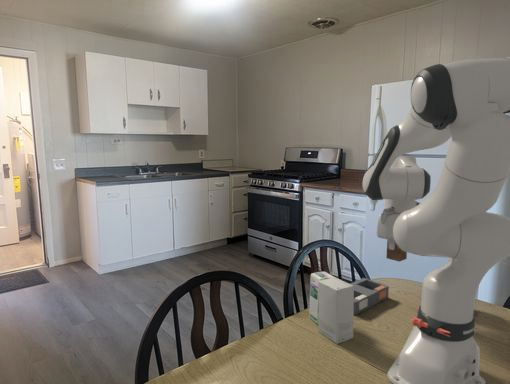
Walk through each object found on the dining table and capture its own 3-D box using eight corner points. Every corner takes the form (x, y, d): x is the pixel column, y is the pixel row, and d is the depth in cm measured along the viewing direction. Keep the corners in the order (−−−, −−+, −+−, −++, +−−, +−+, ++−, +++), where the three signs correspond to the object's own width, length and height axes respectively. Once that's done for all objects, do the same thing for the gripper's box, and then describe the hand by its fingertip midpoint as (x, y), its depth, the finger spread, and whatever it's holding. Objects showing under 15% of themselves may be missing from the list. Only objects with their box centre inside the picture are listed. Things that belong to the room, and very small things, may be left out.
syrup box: (308, 317, 112) (309, 273, 109) (323, 313, 114) (325, 270, 112) (319, 326, 106) (320, 279, 104) (335, 322, 109) (336, 276, 107)
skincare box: (353, 339, 99) (356, 286, 97) (335, 345, 96) (337, 290, 94) (333, 325, 107) (335, 275, 105) (316, 331, 104) (317, 280, 101)
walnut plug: (399, 261, 113) (400, 237, 112) (386, 258, 116) (387, 234, 115) (406, 258, 116) (407, 234, 115) (393, 255, 119) (394, 232, 118)
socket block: (355, 316, 112) (356, 302, 112) (329, 304, 120) (329, 291, 120) (388, 298, 125) (389, 285, 125) (363, 289, 133) (363, 277, 132)
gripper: (391, 210, 105) (389, 256, 107) (424, 203, 118) (421, 244, 120) (372, 207, 110) (370, 251, 111) (405, 201, 123) (403, 240, 124)
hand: (397, 247), depth 116 cm, fingers closed on walnut plug, 4 cm apart
